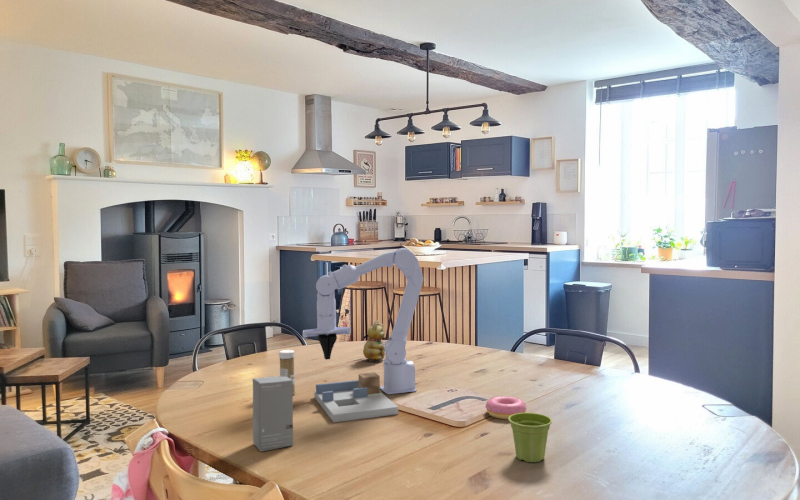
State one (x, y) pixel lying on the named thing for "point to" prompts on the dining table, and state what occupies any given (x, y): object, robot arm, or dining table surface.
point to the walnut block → (370, 382)
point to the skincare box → (272, 412)
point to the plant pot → (530, 435)
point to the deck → (352, 401)
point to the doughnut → (505, 406)
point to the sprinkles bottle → (287, 365)
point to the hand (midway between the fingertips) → (327, 358)
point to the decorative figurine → (375, 343)
